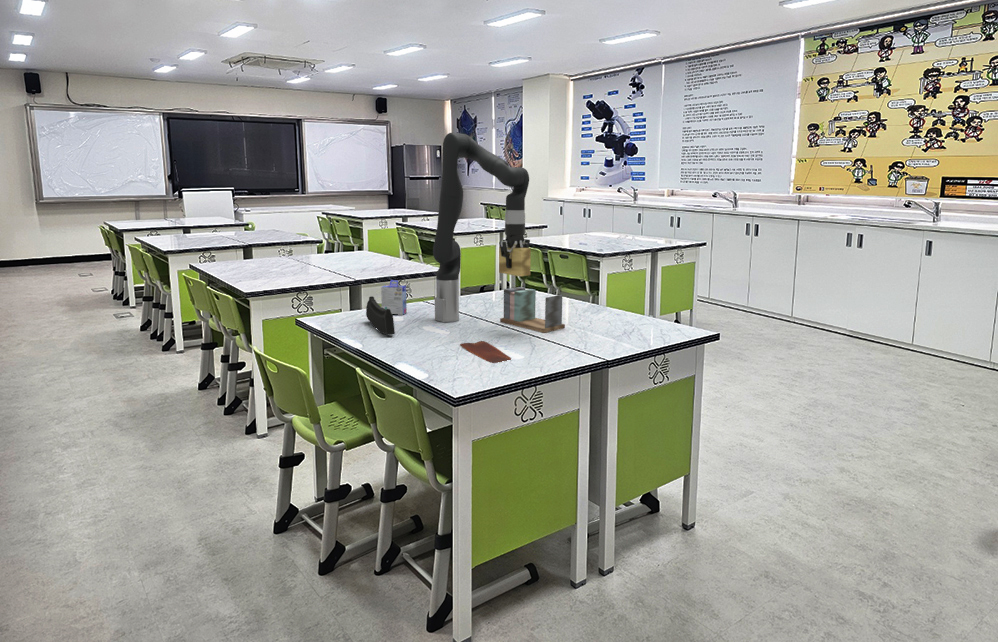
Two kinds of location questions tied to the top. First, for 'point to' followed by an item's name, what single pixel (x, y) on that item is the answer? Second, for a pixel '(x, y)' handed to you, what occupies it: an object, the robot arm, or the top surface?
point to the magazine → (380, 317)
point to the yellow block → (516, 262)
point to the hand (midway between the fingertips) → (514, 267)
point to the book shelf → (531, 310)
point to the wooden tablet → (486, 351)
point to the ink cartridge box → (394, 298)
